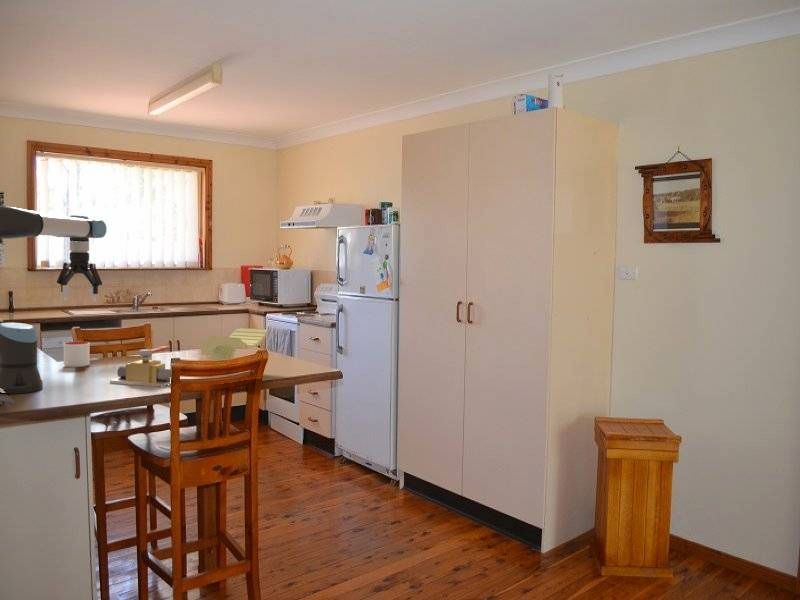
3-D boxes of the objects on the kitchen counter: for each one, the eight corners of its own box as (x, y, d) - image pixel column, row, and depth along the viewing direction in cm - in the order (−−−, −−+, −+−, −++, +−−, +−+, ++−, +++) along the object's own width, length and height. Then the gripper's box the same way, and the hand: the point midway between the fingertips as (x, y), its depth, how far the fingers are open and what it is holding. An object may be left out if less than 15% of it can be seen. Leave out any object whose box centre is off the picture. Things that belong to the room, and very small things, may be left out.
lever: (147, 356, 239) (147, 351, 238) (137, 355, 239) (137, 350, 239) (171, 349, 255) (171, 345, 255) (162, 349, 256) (162, 345, 256)
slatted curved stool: (232, 367, 279) (233, 327, 278) (266, 369, 276) (267, 329, 275) (200, 380, 249) (201, 335, 248) (238, 382, 247) (239, 337, 246)
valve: (179, 381, 246) (180, 354, 245) (163, 387, 234) (163, 359, 233) (129, 377, 250) (129, 351, 249) (109, 383, 238) (110, 356, 237)
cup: (82, 368, 266) (82, 345, 265) (58, 367, 266) (58, 344, 265) (94, 364, 276) (94, 341, 275) (71, 363, 276) (71, 341, 275)
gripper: (111, 252, 271) (111, 301, 272) (59, 251, 275) (60, 299, 277) (99, 252, 264) (99, 302, 265) (47, 250, 268) (47, 300, 269)
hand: (79, 301), depth 271 cm, fingers open, 13 cm apart
